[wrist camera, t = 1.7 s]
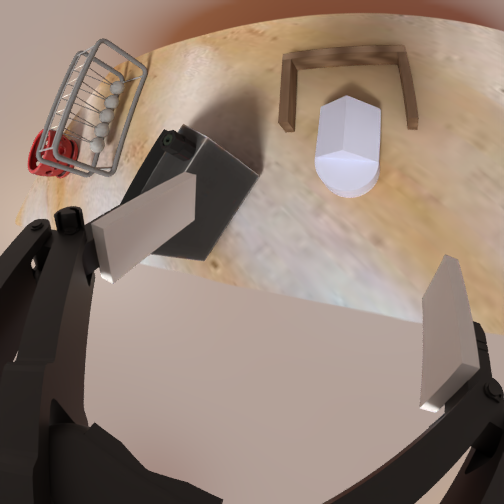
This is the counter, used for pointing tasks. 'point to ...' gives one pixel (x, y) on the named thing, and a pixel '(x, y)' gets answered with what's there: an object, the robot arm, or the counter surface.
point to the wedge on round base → (348, 146)
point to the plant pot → (64, 149)
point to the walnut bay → (343, 58)
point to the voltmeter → (207, 187)
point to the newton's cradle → (104, 116)
